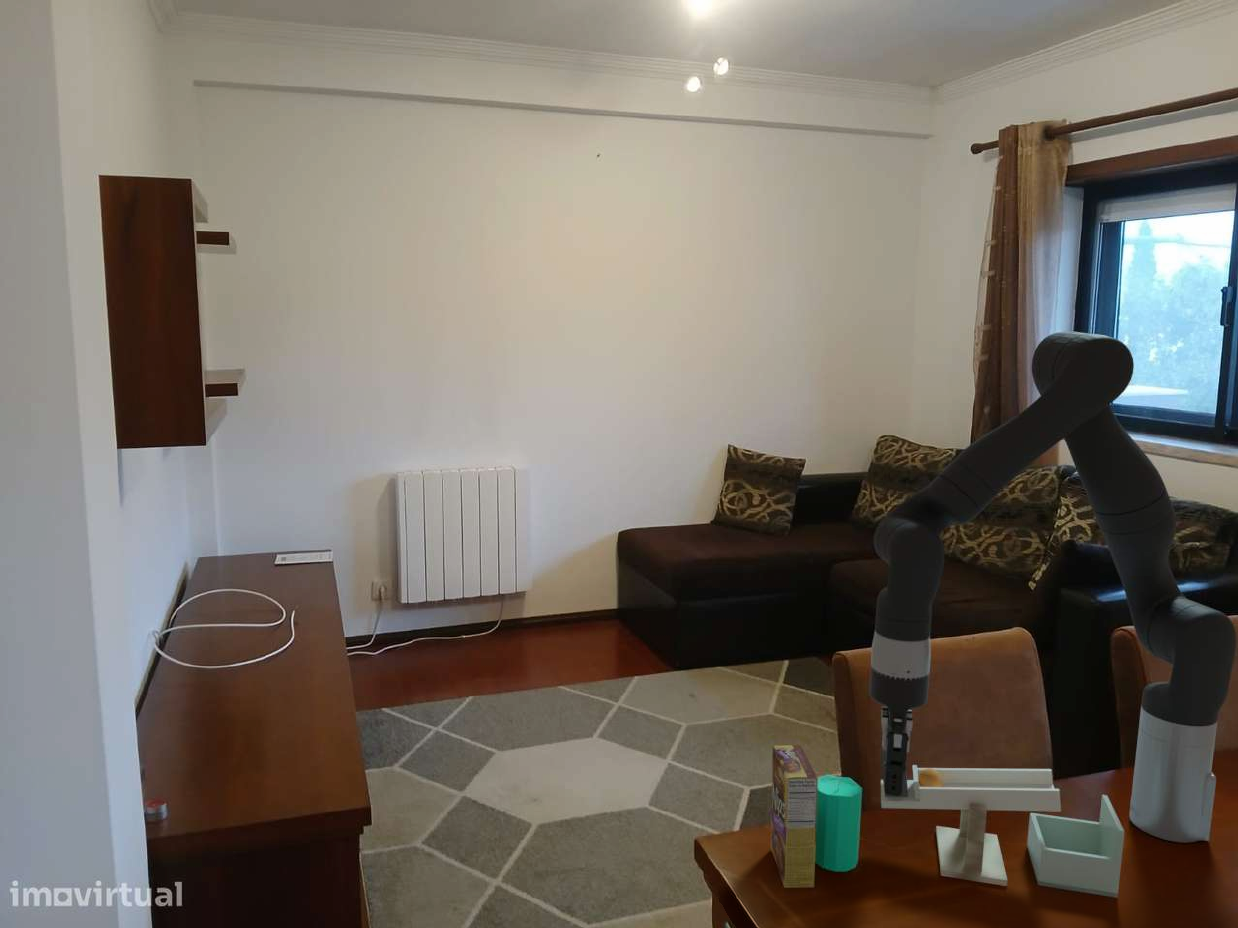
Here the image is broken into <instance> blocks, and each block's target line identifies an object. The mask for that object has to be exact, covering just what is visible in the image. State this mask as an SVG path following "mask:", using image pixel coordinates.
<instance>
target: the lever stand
mask: <svg viewBox="0 0 1238 928" xmlns="http://www.w3.org/2000/svg"><path fill="white" fill-rule="evenodd" d="M987 812H988V810H987V808H986V805H981V804H974V803H969V810H960V818H959V819H960V820H959V828H953V827H947V826H940V825H935V826H936V827H935V833H936V835H935V837H936V844H937V845H936V846H937V853H938V860H939V862H938V863H939V869H940V876H942V877H949V878H952V879H953V878H955V879H961V880H967V881H972V882H978V883H984V884H989V885H990V884H991V885H998V886H1002V887H1007V886H1008V877H1007V873H1006V869H1005V865H1004V859H1003V854H1002V852H1001V851H1002V849H1001V847H1000V842H999V839H998V835H997V834H995V833H994V834H993V833H988V832H986V824H987Z"/></svg>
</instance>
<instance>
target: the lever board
mask: <svg viewBox="0 0 1238 928" xmlns="http://www.w3.org/2000/svg"><path fill="white" fill-rule="evenodd" d="M880 759H881V770H882V778H883V779H880V804H881V809H901V810H902V809H906V810H909V809H912V810H959V811H961V810H969V803H974V804H981V805H986V808H987V811H1000V812H1001V811H1005V812H1006V811H1008V812H1011V811H1013V812H1016V811H1017V812H1050V813H1051V812H1055V813H1056V812H1057V813H1058V812H1060V813H1061V812H1062V807H1061V790H1060V788H1055V786H1054V783H1053V770H1052V769H1051V768H989V767H988V768H985V767H983V768H975V767H974V768H971V767H970V768H967V767H961V768H960V767H955V768H954V767H953V768H952V767H950V768H949V767H918V765H917V764H913V765H912V774H913V776H912V778H913V779H907V778H908V776H907V769H906V770H905V773H904V772H903V781H902V794H901V795H900V796H893V795H887V794H886V793H885V791H884V787H885V771H886V768H885V765H884V761H885V759H886V751H885V750H884V749H883V747H882V742H880ZM890 760H898V761H901V759H899V758H890ZM925 769H933V770H935V771H937V772H938V773H939V774H940V776H941V779H942V784H941V787H921V786H920V784H919V781H918V777H919V774H920V773H921V772H922V771H923V770H925Z"/></svg>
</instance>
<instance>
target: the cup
mask: <svg viewBox="0 0 1238 928" xmlns="http://www.w3.org/2000/svg"><path fill="white" fill-rule="evenodd" d="M1100 802H1101V804H1100V812H1099V821H1098V822H1097V821H1093V820H1086V819H1078V818H1073V817H1072V818H1071V817H1065V816H1056V815H1049V814H1045V813H1044V814H1043V813H1042V814H1041V813H1037V812H1036V813H1035V812H1030V813H1029V821H1028V834H1027V841H1026V843H1027V844H1026V847H1027V850H1028V855H1029V858H1030V861H1031V866H1032V868H1033V872H1034V875H1035V878H1036V882H1037V886H1042V887H1048V888H1053V889H1060V890H1066V891H1072V892H1079V893H1086V894H1091V895H1092V894H1093V895H1098V896H1104V897H1110V898H1114V899H1118V897H1119V895H1118V894H1119V887H1120V878H1121V869H1122V867H1121V866H1122V861H1123V860H1122V858H1123V851H1124V849H1123V848H1124V841H1125V830H1124V828H1123V826H1122V824H1121V821H1120V819H1119V817H1118V815H1117V813H1116V810H1115V809H1114V807H1113V805H1112V802H1111V801H1110V798H1109V796H1108V795H1107V794H1101V801H1100Z"/></svg>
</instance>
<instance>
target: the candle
mask: <svg viewBox="0 0 1238 928" xmlns="http://www.w3.org/2000/svg"><path fill="white" fill-rule="evenodd" d="M862 797H863V787H861V786H860V785H859V784H858V783H857V782H856V781H854V780H853V779H852V778H851V777H843V776H841V774H838V776H834V775H829V774H825V775H824V776H822V777H820V778H819V777H818V786H817V819H816V849H815V864H817V865H818V866H819V867H821V868H823V869H824V868H825V869H824V870H828V871H832V872H835V873H836V872H848V871H851V870H853V869H855V868H856V867H857V864H858V862H859V847H860V833H861V832H860V831H861V817H862V815H861V814H862V813H861V812H862Z"/></svg>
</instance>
